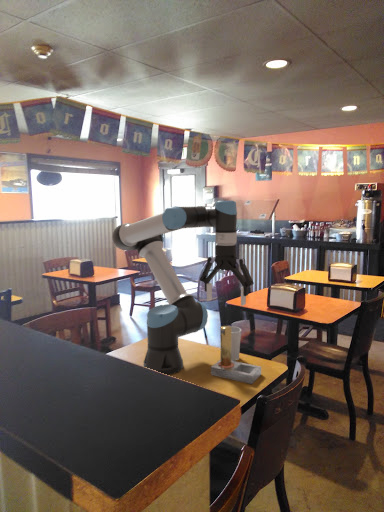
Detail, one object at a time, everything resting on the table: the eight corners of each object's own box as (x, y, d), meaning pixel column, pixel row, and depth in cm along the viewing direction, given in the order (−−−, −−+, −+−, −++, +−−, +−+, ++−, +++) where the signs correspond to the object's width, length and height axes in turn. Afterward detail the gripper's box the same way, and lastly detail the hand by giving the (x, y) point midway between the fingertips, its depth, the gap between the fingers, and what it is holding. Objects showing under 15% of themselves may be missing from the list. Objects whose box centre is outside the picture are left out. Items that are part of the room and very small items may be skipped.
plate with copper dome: (210, 374, 144) (210, 366, 144) (221, 365, 152) (221, 358, 151) (251, 384, 136) (252, 375, 136) (261, 374, 144) (261, 366, 143)
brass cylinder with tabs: (224, 360, 149) (224, 324, 147) (234, 362, 147) (234, 326, 145) (217, 366, 144) (217, 329, 142) (227, 368, 142) (227, 330, 140)
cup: (240, 362, 155) (240, 333, 153) (220, 361, 156) (220, 332, 155) (242, 355, 162) (242, 326, 161) (222, 353, 164) (222, 326, 162)
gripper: (190, 243, 143) (191, 300, 145) (255, 246, 130) (254, 309, 133) (200, 242, 149) (200, 296, 152) (263, 244, 137) (262, 304, 139)
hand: (225, 302), depth 142 cm, fingers open, 13 cm apart
